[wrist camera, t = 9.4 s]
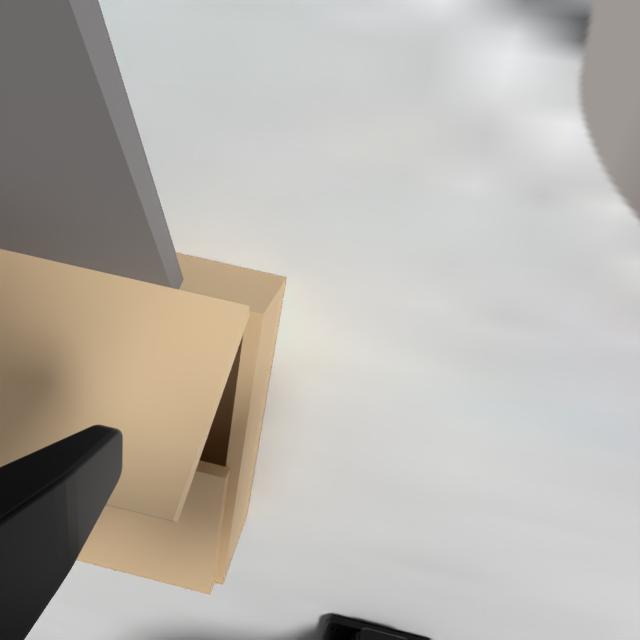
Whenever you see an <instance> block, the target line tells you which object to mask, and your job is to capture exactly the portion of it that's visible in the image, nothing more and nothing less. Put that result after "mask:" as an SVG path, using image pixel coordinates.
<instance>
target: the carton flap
mask: <svg viewBox="0 0 640 640" xmlns="http://www.w3.org/2000/svg"><path fill="white" fill-rule="evenodd" d="M183 280H184V279H183V275H182V272H181V269H180V265H179V262H178V259H177V256H176V252H175V249H174V246H173V243H172V239H171V236H170V233H169V230H168V226H167V223H166V220H165V217H164V213H163V210H162V207H161V204H160V200H159V197H158V194H157V191H156V187H155V184H154V181H153V178H152V174H151V171H150V168H149V165H148V161H147V158H146V155H145V151H144V148H143V145H142V142H141V138H140V135H139V132H138V129H137V125H136V122H135V119H134V116H133V112H132V109H131V106H130V103H129V99H128V96H127V93H126V90H125V86H124V83H123V80H122V77H121V73H120V70H119V67H118V64H117V60H116V57H115V54H114V51H113V47H112V44H111V41H110V37H109V34H108V31H107V28H106V24H105V21H104V18H103V15H102V11H101V8H100V5H99V2H98V0H0V467H1V466H4V465H6V464H8V463H10V462H13V461H15V460H17V459H19V458H22V457H24V456H26V455H28V454H30V453H33V452H35V451H37V450H39V449H42V448H44V447H46V446H48V445H51V444H53V443H55V442H57V441H59V440H62V439H64V438H66V437H68V436H71V435H73V434H75V433H77V432H80V431H82V430H84V429H86V428H88V427H91V426H93V425H97V424H98V425H104V426H109V427H113V428H117V429H119V430H120V431H121V432H122V435H123V463H122V473H121V476H120V479H119V481H118V483H117V485H116V487H115V489H114V491H113V492H112V494H111V496H110V498H109V500H108V502H107V504H106V506H110V507H114V508H118V509H122V510H126V511H130V512H134V513H138V514H142V515H146V516H150V517H154V518H158V519H162V520H166V521H170V522H174V523H178V520H179V517H180V514H181V512H182V509H183V506H184V503H185V500H186V497H187V494H188V491H189V489H190V486H191V483H192V480H193V477H194V474H195V471H196V468H197V466H198V463H199V460H200V457H201V454H202V451H203V448H204V445H205V442H206V440H207V437H208V434H209V431H210V428H211V425H212V422H213V419H214V417H215V414H216V411H217V408H218V405H219V402H220V399H221V396H222V394H223V391H224V388H225V385H226V382H227V379H228V376H229V373H230V371H231V368H232V365H233V362H234V359H235V356H236V353H237V350H238V347H239V345H240V342H241V339H242V336H243V333H244V330H245V327H246V324H247V322H248V319H249V316H250V312H249V306H248V305H244V304H240V303H235V302H231V301H226V300H222V299H218V298H213V297H209V296H204V295H200V294H196V293H191V292H187V291H183V290H179V288H180V286H181V284H182V282H183Z"/></svg>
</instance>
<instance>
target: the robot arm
mask: <svg viewBox="0 0 640 640" xmlns="http://www.w3.org/2000/svg"><path fill="white" fill-rule="evenodd" d="M122 463H123V435H122V432H121V431H120V430H119V429H117V428H113V427H109V426H104V425H98V424H97V425H93V426H91V427H88V428H86V429H84V430H82V431H80V432H77V433H75V434H73V435H71V436H68V437H66V438H64V439H62V440H59V441H57V442H55V443H53V444H51V445H48V446H46V447H44V448H42V449H39V450H37V451H35V452H33V453H30V454H28V455H26V456H24V457H22V458H19V459H17V460H15V461H13V462H10V463H8V464H6V465H4V466H1V467H0V640H24V639H25V638H26V636H27V635H28V633H29V632H30V630H31V629H32V627H33V626H34V624H35V623H36V621H37V620H38V618H39V617H40V615H41V614H42V612H43V611H44V609H45V608H46V606H47V605H48V603H49V602H50V600H51V599H52V597H53V596H54V594H55V593H56V591H57V590H58V588H59V587H60V585H61V584H62V582H63V581H64V579H65V578H66V576H67V575H68V573H69V571H70V570H71V568H72V566H73V565H74V563H75V561H76V559H77V558H78V556H79V554H80V552H81V550H82V548H83V546H84V545H85V543H86V541H87V539H88V537H89V535H90V533H91V532H92V530H93V528H94V526H95V524H96V522H97V520H98V519H99V517H100V515H101V513H102V511H103V509H104V507H105V505H106V504H107V502H108V500H109V498H110V496H111V494H112V492H113V491H114V489H115V487H116V485H117V483H118V481H119V479H120V476H121V473H122ZM322 640H427V639H423V638H419V637H415V636H411V635H407V634H403V633H400V632H396V631H392V630H388V629H384V628H380V627H376V626H372V625H368V624H364V623H360V622H357V621H353V620H349V619H345V618H341V617H337V616H332V617H330V618H328V620H327V623H326V626H325V630H324V633H323V636H322Z"/></svg>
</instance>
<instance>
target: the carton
mask: <svg viewBox="0 0 640 640" xmlns="http://www.w3.org/2000/svg"><path fill="white" fill-rule="evenodd" d="M176 256H177V259H178V262H179V265H180V269H181V272H182V275H183V279H184V280H183V282H182V284H181V286H180V288H179V290H183V291H187V292H191V293H196V294H200V295H204V296H209V297H213V298H218V299H222V300H226V301H231V302H235V303H240V304H244V305H248V306H249V312H250V316H249V319H248V322H247V324H246V327H245V330H244V333H243V336H242V339H241V342H240V345H239V347H238V350H237V353H236V356H235V359H234V362H233V365H232V368H231V371H230V373H229V376H228V379H227V382H226V385H225V388H224V391H223V394H222V396H221V399H220V402H219V405H218V408H217V411H216V414H215V417H214V419H213V422H212V425H211V428H210V431H209V434H208V437H207V440H206V442H205V445H204V448H203V451H202V454H201V457H200V460H199V463H198V466H197V468H196V471H195V474H194V477H193V480H192V483H191V486H190V489H189V491H188V494H187V497H186V500H185V503H184V506H183V509H182V512H181V514H180V517H179V520H178V523H174V522H170V521H166V520H162V519H158V518H154V517H150V516H146V515H142V514H138V513H134V512H130V511H126V510H122V509H118V508H114V507H110V506H106V505H105V507H104V509H103V511H102V513H101V515H100V517H99V519H98V520H97V522H96V524H95V526H94V528H93V530H92V532H91V533H90V535H89V537H88V539H87V541H86V543H85V545H84V546H83V548H82V550H81V552H80V554H79V556H78V558H77V559H76V560H78V561H82V562H85V563H89V564H93V565H97V566H101V567H105V568H109V569H113V570H117V571H120V572H124V573H128V574H132V575H136V576H140V577H144V578H148V579H152V580H155V581H159V582H163V583H167V584H171V585H175V586H179V587H183V588H187V589H190V590H194V591H198V592H202V593H206V594H211V591H212V588H213V586H214V583H218V584H222V585H223V583H224V580H225V577H226V575H227V572H228V569H229V566H230V563H231V560H232V557H233V555H234V552H235V549H236V546H237V543H238V540H239V538H240V535H241V532H242V529H243V526H244V523H245V520H246V518H247V512H248V506H249V500H250V494H251V488H252V482H253V476H254V470H255V464H256V458H257V452H258V446H259V440H260V434H261V428H262V422H263V416H264V410H265V404H266V398H267V392H268V386H269V380H270V374H271V368H272V362H273V356H274V350H275V344H276V338H277V332H278V326H279V320H280V314H281V308H282V302H283V296H284V290H285V284H286V278H287V277H282V276H278V275H273V274H269V273H264V272H260V271H256V270H251V269H247V268H242V267H238V266H233V265H229V264H224V263H220V262H215V261H211V260H207V259H202V258H198V257H193V256H189V255H184V254H180V253H176Z"/></svg>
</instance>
